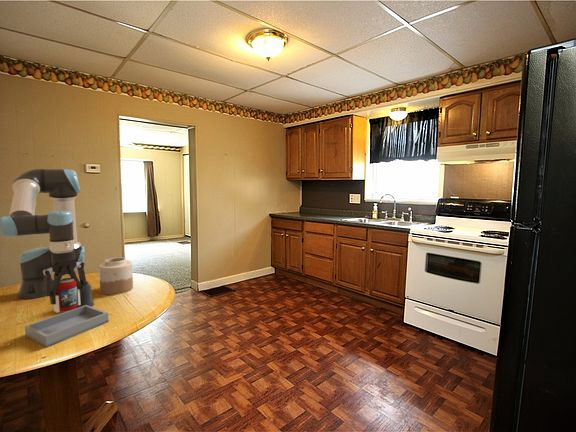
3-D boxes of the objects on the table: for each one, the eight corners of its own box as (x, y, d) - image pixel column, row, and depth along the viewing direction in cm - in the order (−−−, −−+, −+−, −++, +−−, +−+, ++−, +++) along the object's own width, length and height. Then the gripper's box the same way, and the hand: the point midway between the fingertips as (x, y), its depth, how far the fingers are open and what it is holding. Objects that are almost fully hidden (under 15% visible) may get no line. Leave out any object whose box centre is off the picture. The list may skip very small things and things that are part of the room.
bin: (25, 336, 113) (24, 326, 112) (87, 313, 132) (86, 304, 132) (47, 347, 106) (46, 336, 105) (108, 321, 125) (108, 312, 124)
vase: (138, 288, 163) (137, 258, 161) (109, 297, 150) (107, 265, 148) (123, 282, 171) (121, 254, 169) (94, 291, 158) (92, 260, 156)
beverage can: (66, 313, 114) (64, 283, 112) (52, 311, 115) (49, 281, 114) (82, 306, 120) (80, 277, 119) (68, 304, 122) (66, 276, 120)
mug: (94, 307, 138) (92, 284, 137) (70, 312, 133) (68, 288, 132) (93, 298, 148) (92, 277, 147) (71, 302, 143) (69, 280, 142)
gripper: (36, 257, 105) (42, 320, 107) (94, 247, 122) (98, 300, 125) (26, 255, 108) (32, 315, 111) (84, 245, 125) (88, 297, 128)
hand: (67, 307), depth 118 cm, fingers closed on beverage can, 7 cm apart
